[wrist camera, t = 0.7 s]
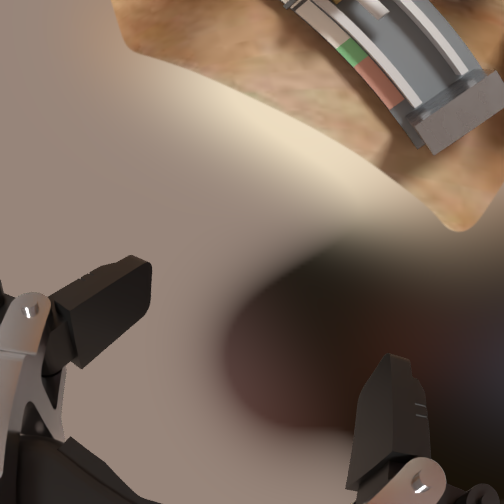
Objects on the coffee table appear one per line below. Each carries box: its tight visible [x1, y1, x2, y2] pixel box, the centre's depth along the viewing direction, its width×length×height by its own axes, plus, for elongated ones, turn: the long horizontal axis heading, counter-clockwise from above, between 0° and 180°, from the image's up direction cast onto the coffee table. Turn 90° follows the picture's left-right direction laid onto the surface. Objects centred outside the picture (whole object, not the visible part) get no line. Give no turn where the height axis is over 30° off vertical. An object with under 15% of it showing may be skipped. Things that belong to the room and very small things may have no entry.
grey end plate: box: [406, 69, 504, 155], centre depth 20 cm, size 3×10×6 cm, turn 136°
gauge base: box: [280, 0, 482, 149], centre depth 20 cm, size 24×12×4 cm, turn 46°
